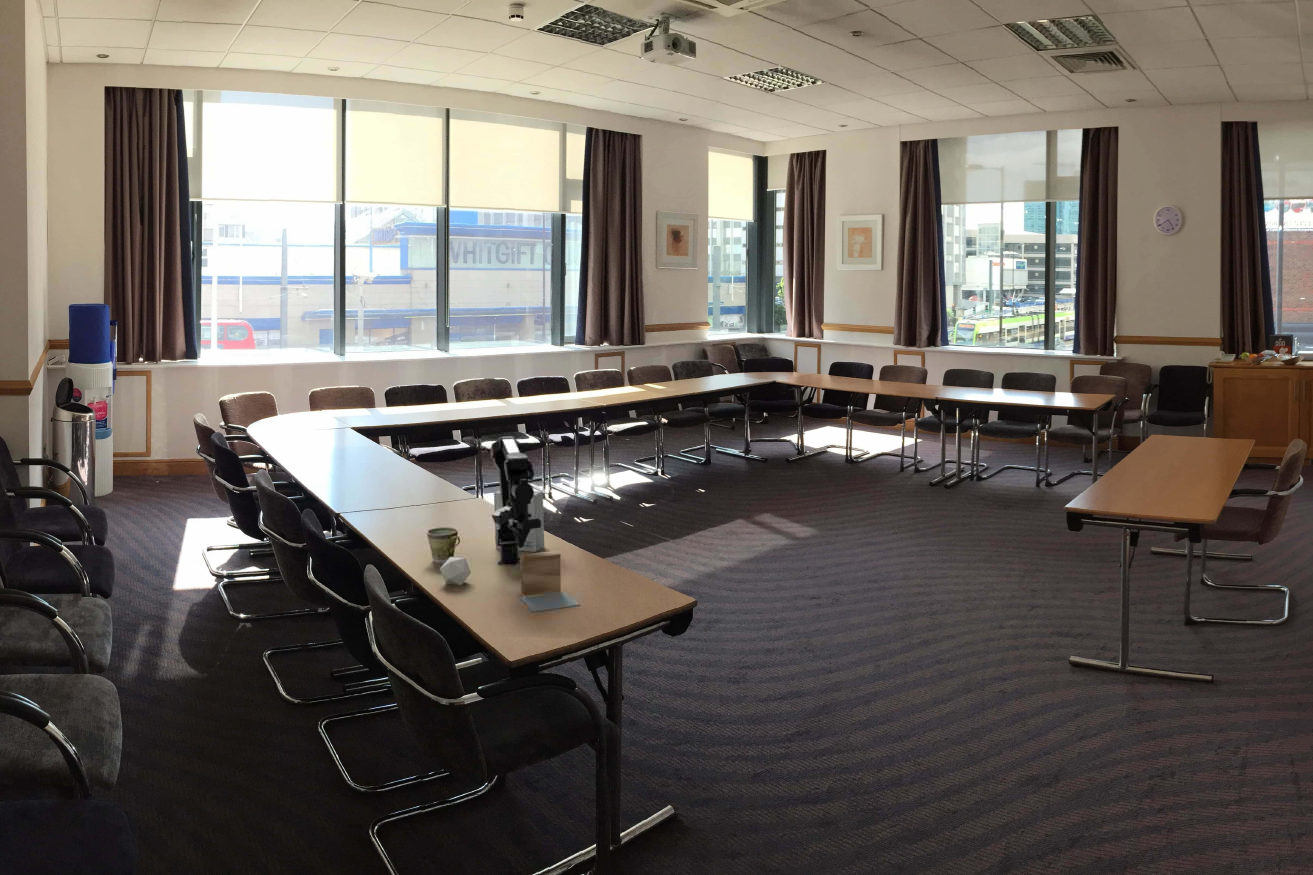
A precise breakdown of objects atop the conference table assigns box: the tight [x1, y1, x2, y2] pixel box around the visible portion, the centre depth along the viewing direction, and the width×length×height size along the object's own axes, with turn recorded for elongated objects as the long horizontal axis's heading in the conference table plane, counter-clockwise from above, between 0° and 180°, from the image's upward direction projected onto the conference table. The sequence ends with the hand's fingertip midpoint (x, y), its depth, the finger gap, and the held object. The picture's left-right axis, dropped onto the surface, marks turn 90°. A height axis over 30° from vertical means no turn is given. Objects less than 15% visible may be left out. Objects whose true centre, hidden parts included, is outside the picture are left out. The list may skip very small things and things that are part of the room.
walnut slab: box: [519, 550, 562, 598], centre depth 276 cm, size 4×11×12 cm, turn 115°
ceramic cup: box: [426, 526, 461, 564], centre depth 308 cm, size 13×10×10 cm
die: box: [439, 556, 472, 586], centre depth 285 cm, size 8×9×10 cm
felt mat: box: [519, 591, 581, 613], centre depth 269 cm, size 12×14×1 cm
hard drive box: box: [493, 490, 545, 553], centre depth 323 cm, size 16×8×20 cm, turn 74°
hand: (520, 547), depth 287 cm, fingers closed
